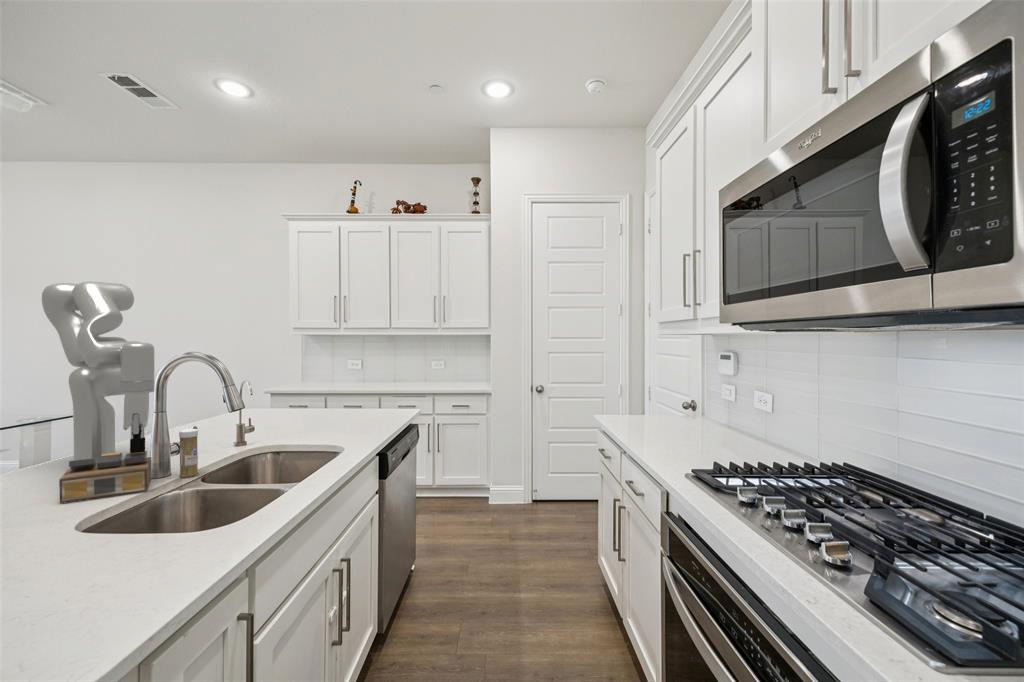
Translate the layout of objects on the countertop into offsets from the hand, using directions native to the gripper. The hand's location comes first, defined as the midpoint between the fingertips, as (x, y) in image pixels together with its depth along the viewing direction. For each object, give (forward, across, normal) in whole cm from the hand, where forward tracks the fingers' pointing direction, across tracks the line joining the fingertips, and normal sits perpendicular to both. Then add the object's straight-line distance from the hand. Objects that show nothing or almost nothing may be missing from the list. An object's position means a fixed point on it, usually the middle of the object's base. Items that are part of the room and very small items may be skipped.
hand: (137, 452), depth 134 cm
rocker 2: (+1, +3, -6) cm, 6 cm away
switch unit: (+8, +4, -6) cm, 11 cm away
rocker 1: (+1, +2, -11) cm, 12 cm away
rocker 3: (+1, +3, 0) cm, 3 cm away
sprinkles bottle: (+9, 0, +12) cm, 15 cm away
